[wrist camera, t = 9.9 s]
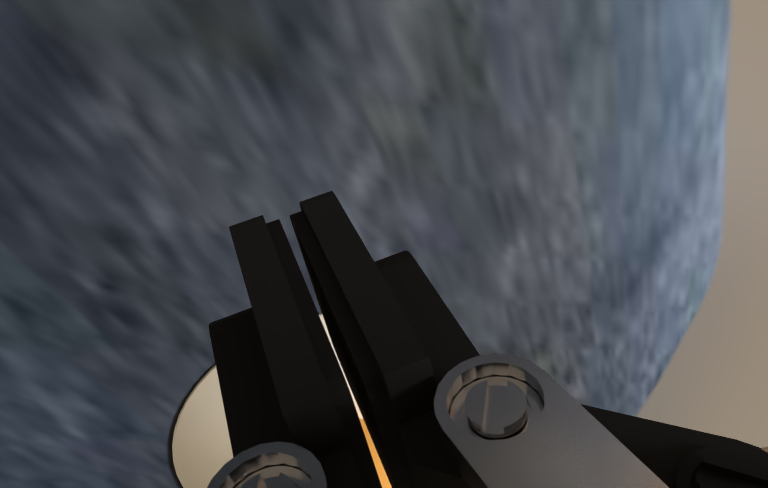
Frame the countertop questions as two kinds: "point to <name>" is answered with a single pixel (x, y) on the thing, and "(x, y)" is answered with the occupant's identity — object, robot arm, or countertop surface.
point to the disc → (207, 431)
